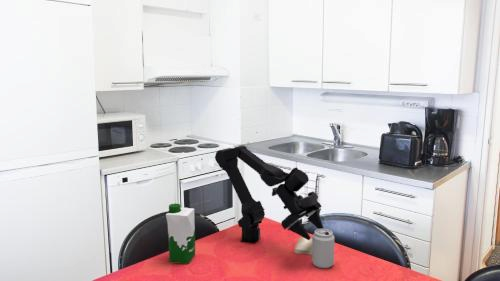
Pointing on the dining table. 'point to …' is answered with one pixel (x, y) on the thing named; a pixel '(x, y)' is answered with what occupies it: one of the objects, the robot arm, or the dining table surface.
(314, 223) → the robot arm
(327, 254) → the can
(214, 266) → the dining table surface
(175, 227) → the milk carton
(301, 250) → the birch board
